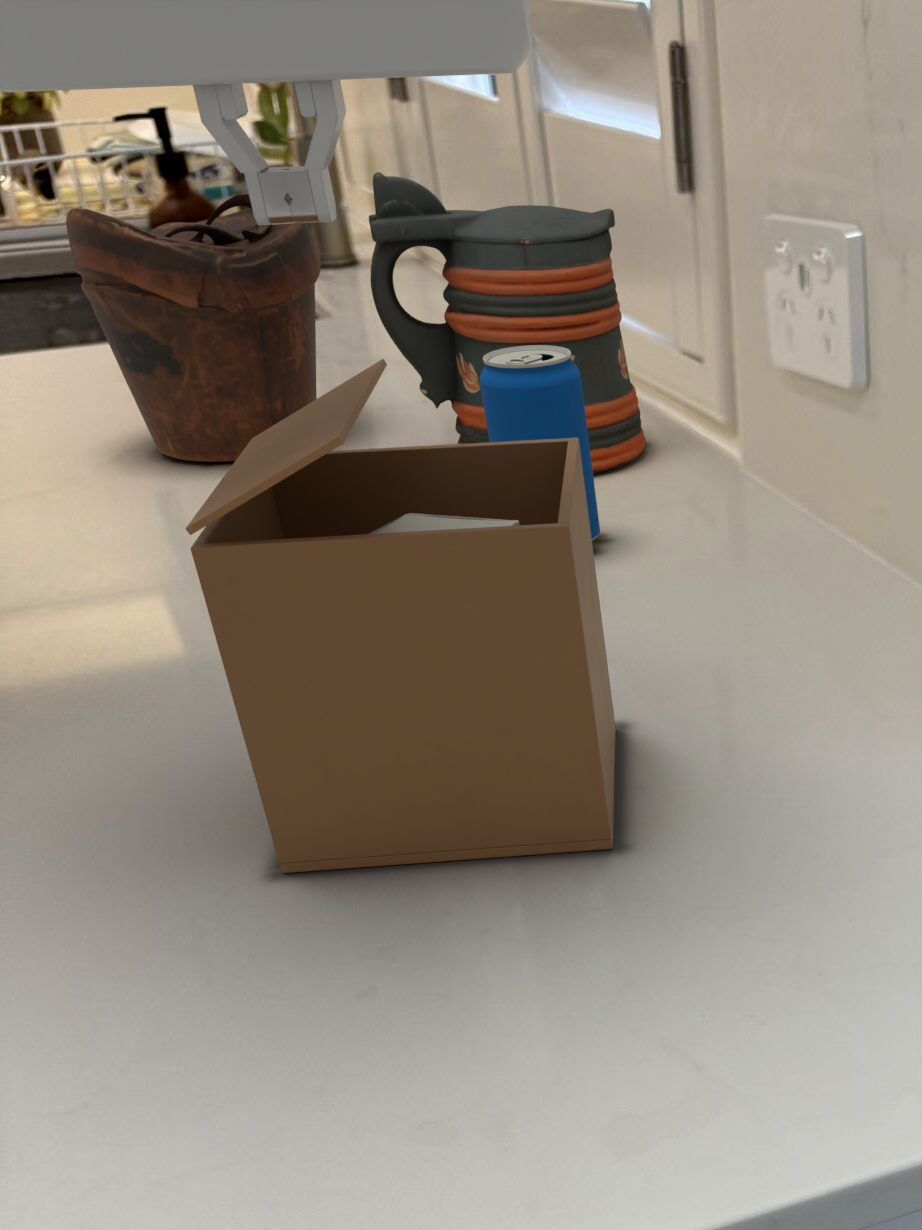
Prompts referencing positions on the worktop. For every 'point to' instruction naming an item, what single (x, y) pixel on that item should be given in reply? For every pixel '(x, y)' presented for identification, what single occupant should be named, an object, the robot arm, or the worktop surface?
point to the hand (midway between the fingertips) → (297, 222)
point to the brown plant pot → (204, 322)
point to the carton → (418, 656)
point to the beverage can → (538, 403)
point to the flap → (290, 445)
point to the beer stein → (509, 305)
